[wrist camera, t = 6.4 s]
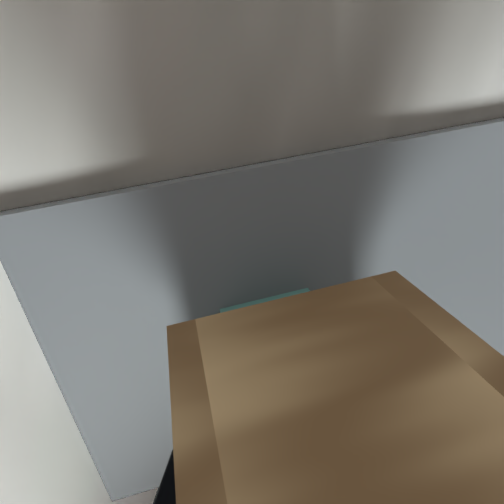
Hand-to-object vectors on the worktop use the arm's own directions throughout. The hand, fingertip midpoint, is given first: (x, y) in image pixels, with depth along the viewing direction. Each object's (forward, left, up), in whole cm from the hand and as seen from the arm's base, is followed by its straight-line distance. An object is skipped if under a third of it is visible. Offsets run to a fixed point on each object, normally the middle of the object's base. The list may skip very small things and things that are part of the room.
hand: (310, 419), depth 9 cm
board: (-6, 0, -4) cm, 7 cm away
